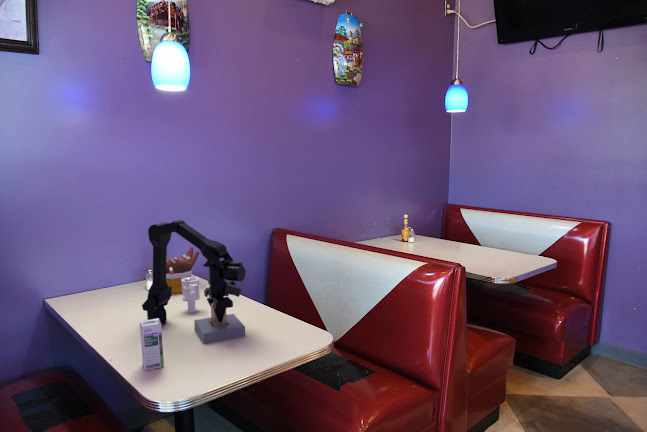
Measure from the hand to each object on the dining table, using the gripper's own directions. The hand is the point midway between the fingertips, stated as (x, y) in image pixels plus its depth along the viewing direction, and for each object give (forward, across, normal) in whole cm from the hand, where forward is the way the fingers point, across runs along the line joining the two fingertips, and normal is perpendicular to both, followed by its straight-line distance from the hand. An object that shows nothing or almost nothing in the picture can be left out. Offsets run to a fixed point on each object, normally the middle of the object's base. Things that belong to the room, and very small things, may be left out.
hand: (218, 319), depth 177 cm
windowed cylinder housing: (+5, +28, +4) cm, 29 cm away
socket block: (+5, 0, 0) cm, 5 cm away
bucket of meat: (+5, +61, +4) cm, 61 cm away
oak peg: (+3, 0, 0) cm, 3 cm away
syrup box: (+5, -17, +26) cm, 31 cm away
